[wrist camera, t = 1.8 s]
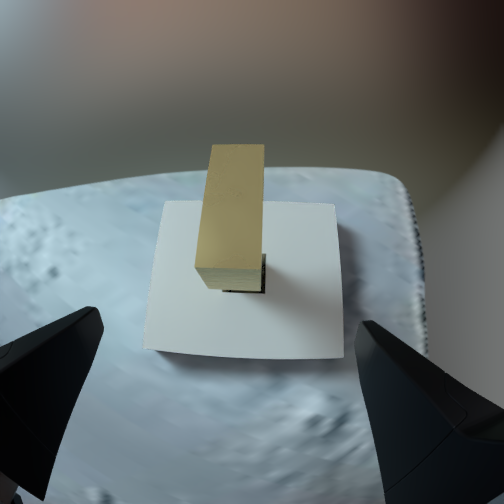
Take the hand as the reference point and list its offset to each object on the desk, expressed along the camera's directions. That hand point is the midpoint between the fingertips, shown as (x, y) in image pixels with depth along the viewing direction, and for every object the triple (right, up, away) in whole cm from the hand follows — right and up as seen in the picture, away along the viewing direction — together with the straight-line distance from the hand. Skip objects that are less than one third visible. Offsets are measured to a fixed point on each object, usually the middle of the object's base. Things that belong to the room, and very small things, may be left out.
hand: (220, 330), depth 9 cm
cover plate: (+1, 0, +14) cm, 14 cm away
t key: (+1, 0, +14) cm, 14 cm away
